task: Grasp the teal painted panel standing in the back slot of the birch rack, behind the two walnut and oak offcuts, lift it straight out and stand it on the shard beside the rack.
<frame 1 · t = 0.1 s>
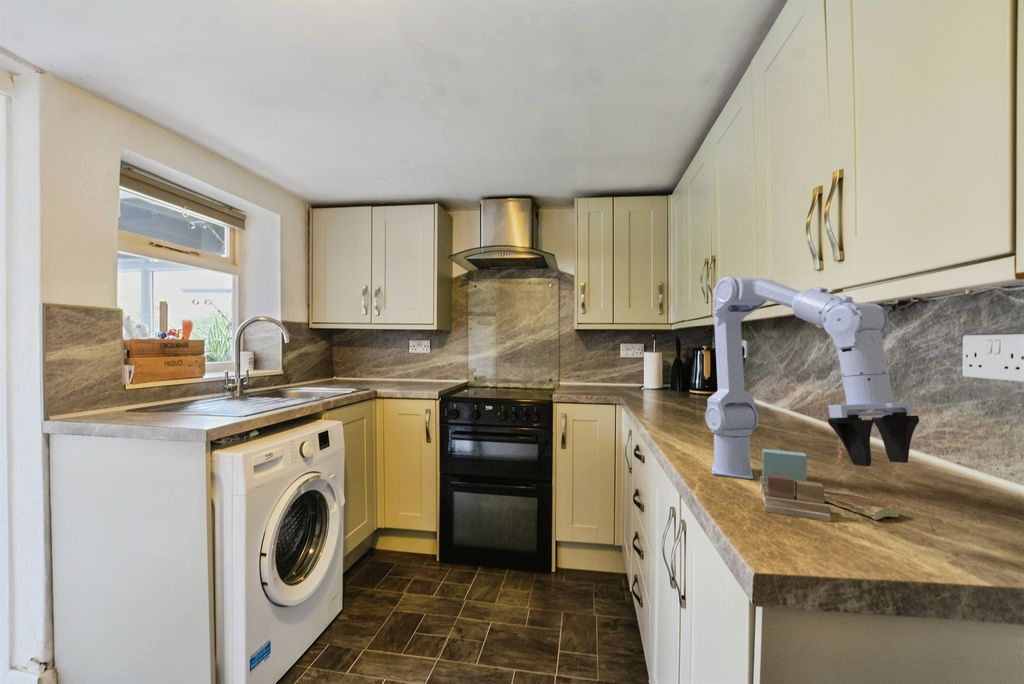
hand: (880, 463, 64), 11 cm above the worktop, tool pointing down, fingers open, 7 cm apart
oak offcut: (809, 506, 71), point 1 cm above the worktop, touching birch rack
walnut offcut: (780, 502, 73), point 1 cm above the worktop, touching birch rack
teal panel: (784, 488, 81), point 1 cm above the worktop, touching birch rack
shard: (856, 511, 72), on the worktop, touching birch rack
birch rack: (791, 501, 76), on the worktop
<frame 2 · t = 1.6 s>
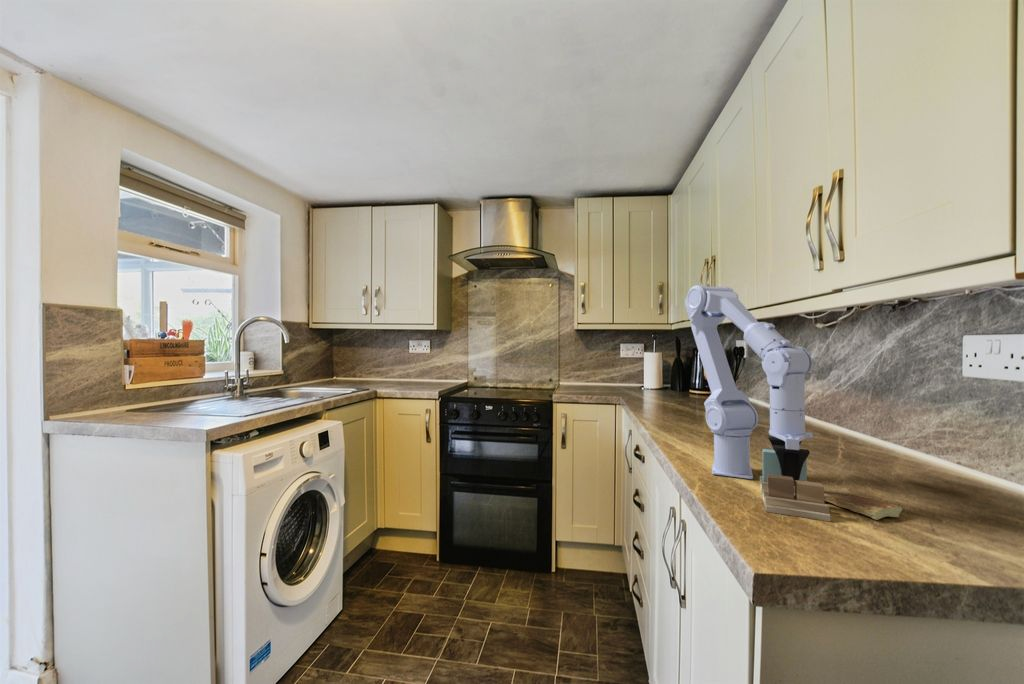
hand: (787, 479, 80), 3 cm above the worktop, tool pointing down, fingers open, 7 cm apart
nothing on the worktop moved.
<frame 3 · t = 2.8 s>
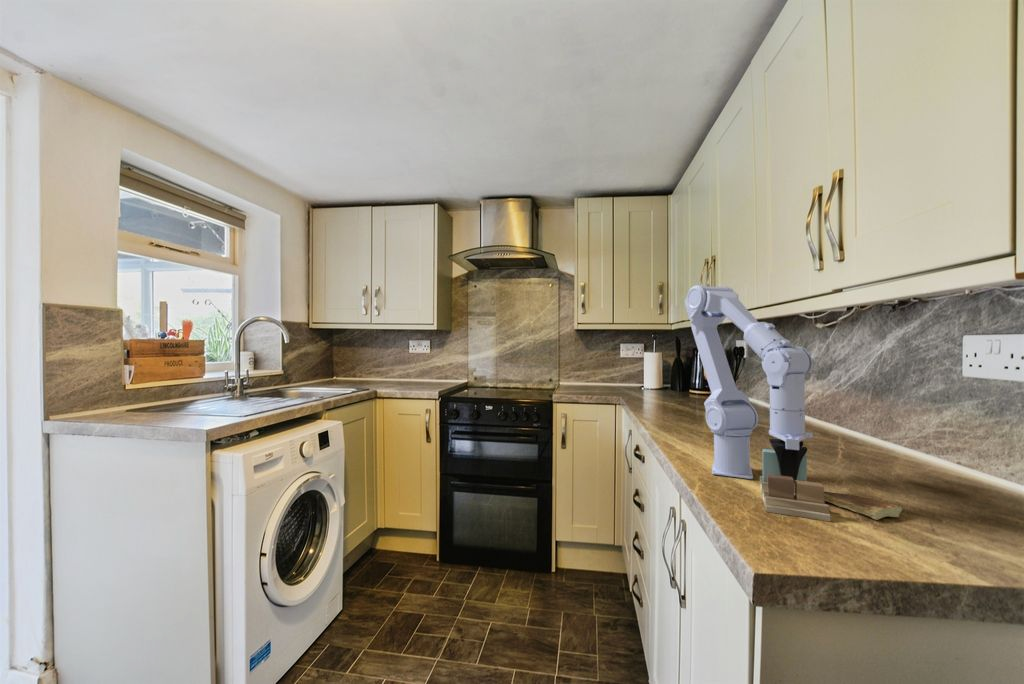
hand: (787, 479, 80), 3 cm above the worktop, tool pointing down, fingers closed on teal panel, 2 cm apart
teal panel: (784, 488, 81), point 1 cm above the worktop, touching birch rack, gripper
everything else where it was.
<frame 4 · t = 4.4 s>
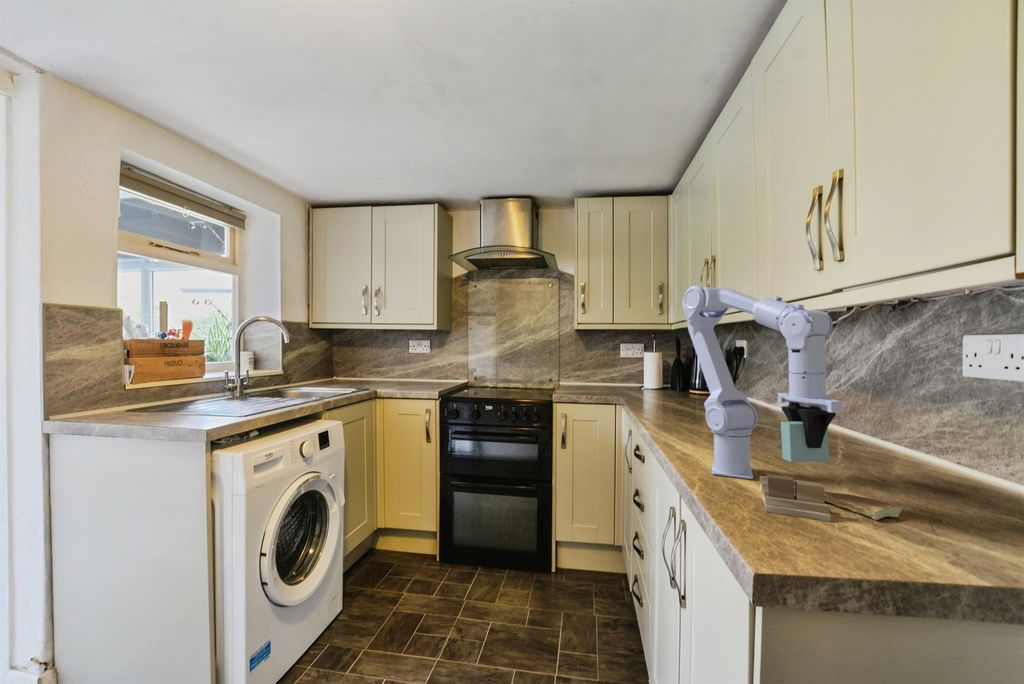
hand: (808, 445, 78), 10 cm above the worktop, tool pointing down, fingers closed on teal panel, 2 cm apart
teal panel: (805, 459, 78), point 7 cm above the worktop, touching gripper
everything else where it was.
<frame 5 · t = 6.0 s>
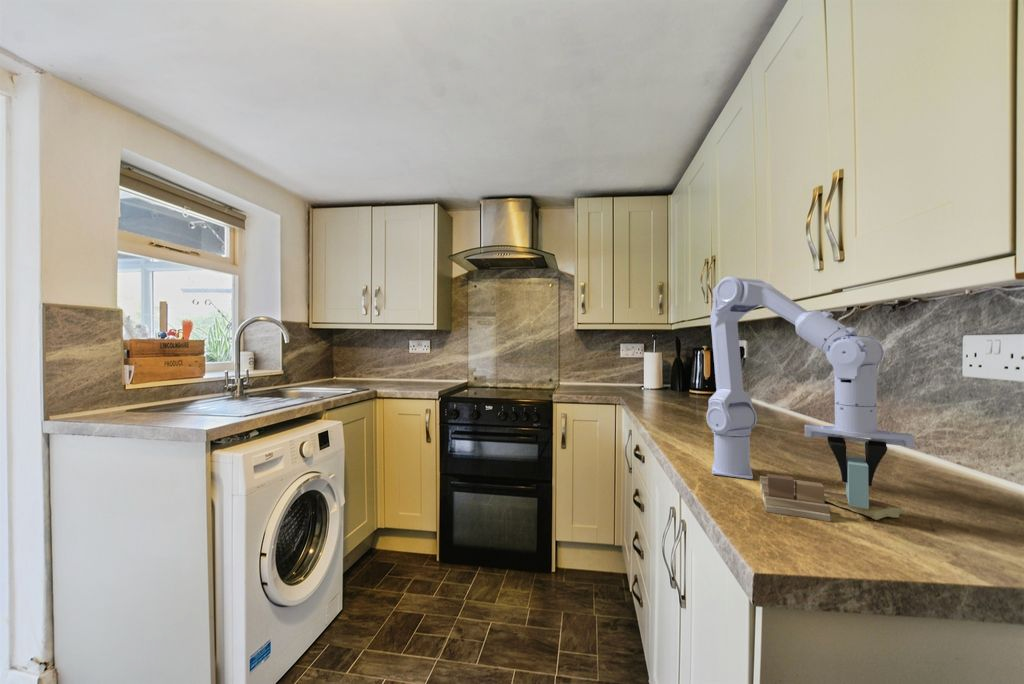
hand: (856, 482, 72), 5 cm above the worktop, tool pointing down, fingers closed on teal panel, 2 cm apart
teal panel: (856, 500, 71), point 2 cm above the worktop, touching shard, gripper
shard: (856, 511, 72), on the worktop, touching birch rack, teal panel
everything else where it was.
when the fingers open (5 cm above the worktop, at t = 6.4 s): teal panel stays where it is, resting on shard.
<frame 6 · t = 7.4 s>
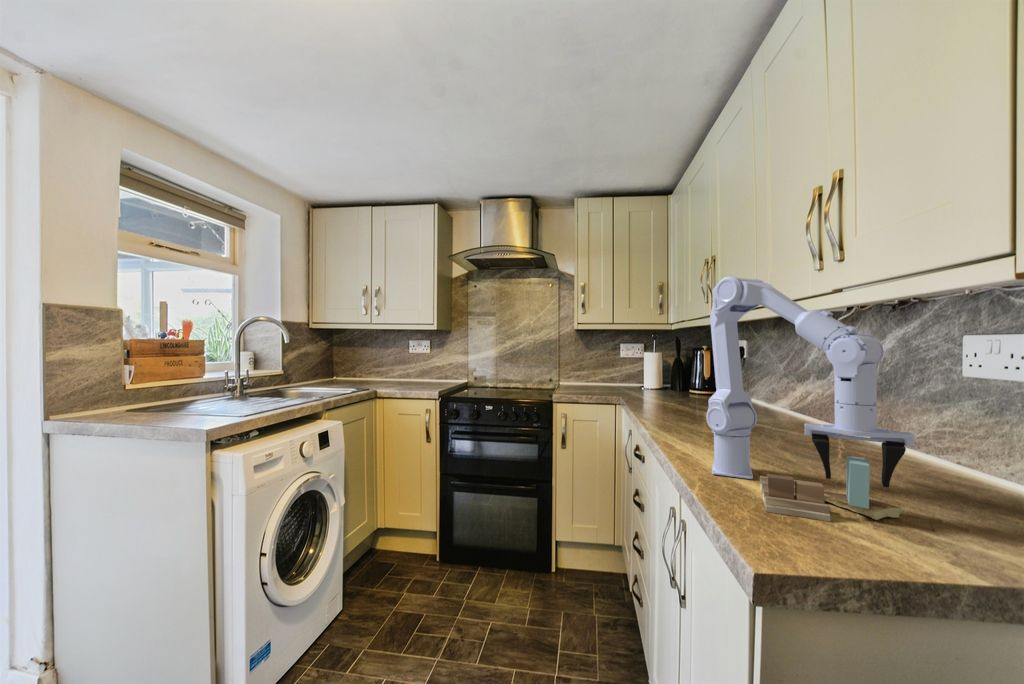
hand: (855, 481, 72), 5 cm above the worktop, tool pointing down, fingers open, 7 cm apart
teal panel: (856, 501, 71), point 2 cm above the worktop, touching shard
everything else where it was.
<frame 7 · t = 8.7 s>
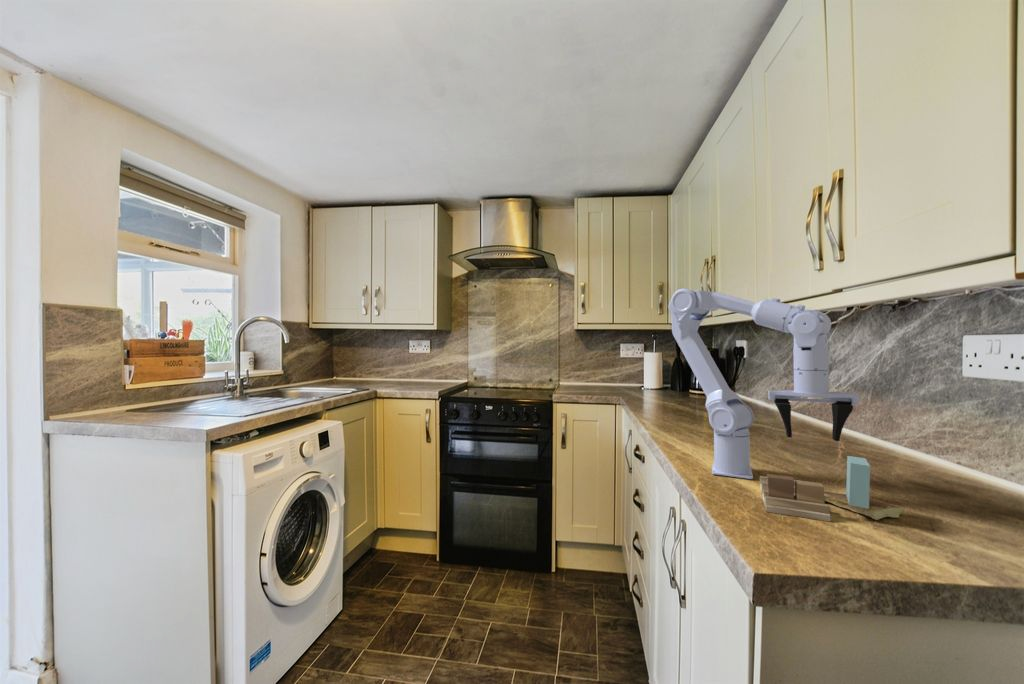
hand: (812, 438, 82), 10 cm above the worktop, tool pointing down, fingers open, 7 cm apart
nothing on the worktop moved.
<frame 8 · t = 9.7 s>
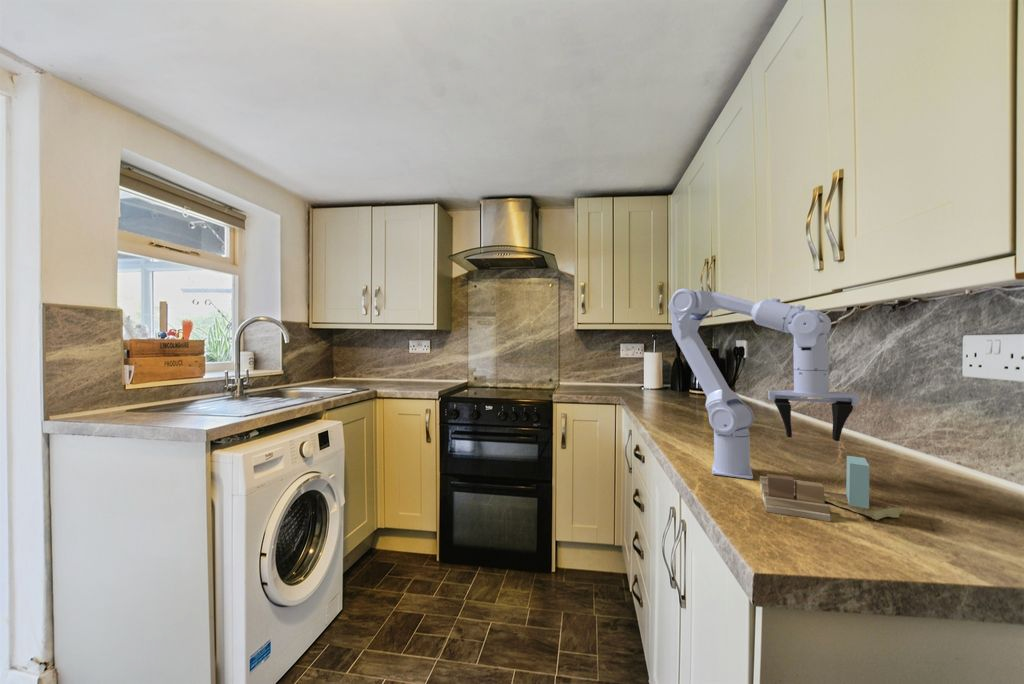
hand: (812, 438, 82), 10 cm above the worktop, tool pointing down, fingers open, 7 cm apart
nothing on the worktop moved.
at the end: teal panel 0.7 cm off-centre on the shard, point 2.0 cm above the shard's base; teal panel tilted 3°; the gripper is holding nothing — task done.
